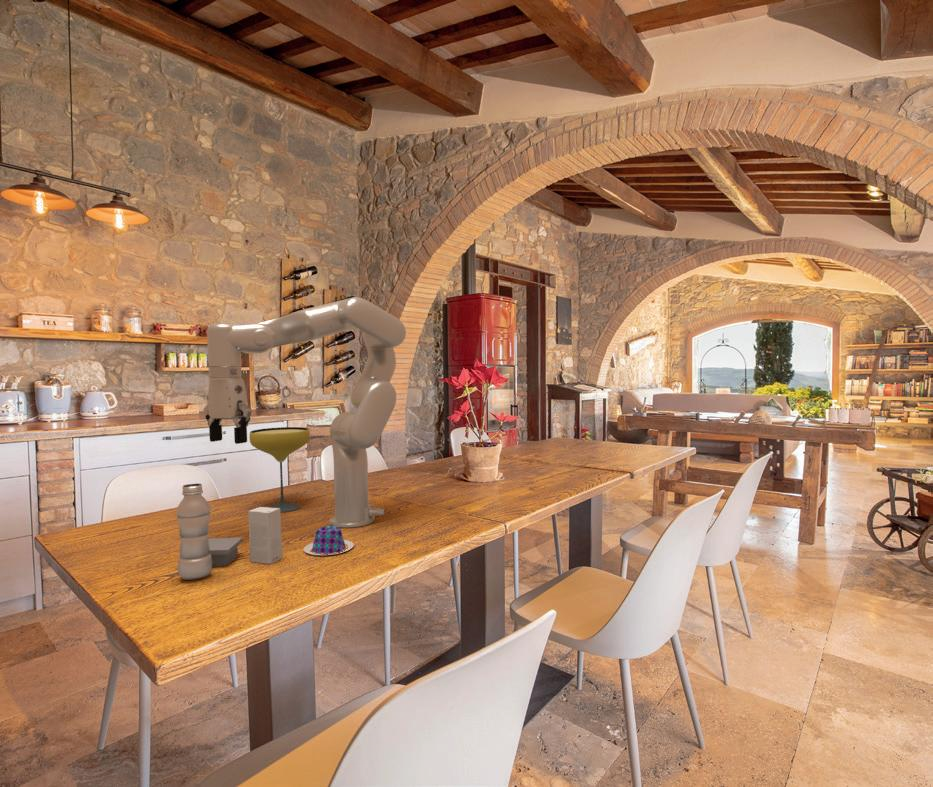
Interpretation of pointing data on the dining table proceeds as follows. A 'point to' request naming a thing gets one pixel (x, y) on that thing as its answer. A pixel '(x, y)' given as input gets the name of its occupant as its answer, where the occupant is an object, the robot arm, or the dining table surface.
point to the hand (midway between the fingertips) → (228, 441)
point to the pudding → (328, 541)
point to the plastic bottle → (194, 533)
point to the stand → (223, 550)
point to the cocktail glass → (280, 450)
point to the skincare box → (265, 535)
